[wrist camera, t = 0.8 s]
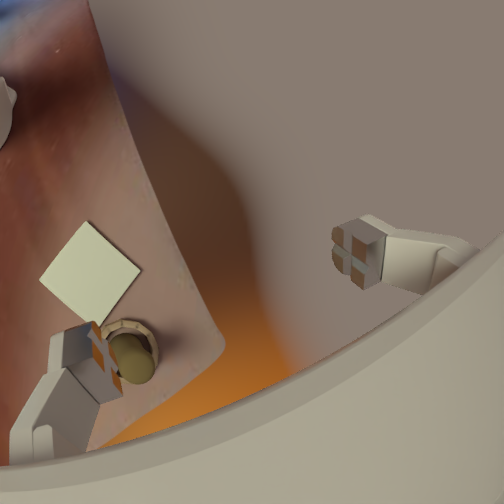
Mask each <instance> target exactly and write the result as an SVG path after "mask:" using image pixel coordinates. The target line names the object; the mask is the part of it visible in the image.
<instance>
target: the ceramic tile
mask: <svg viewBox="0 0 504 504" xmlns="http://www.w3.org/2000/svg"><path fill="white" fill-rule="evenodd" d="M139 272H140V270H139V269H138V268H137V267H136V266H135V265H133V264H132V263H131V262H130V261H129V260H128V259H127V258H126V257H124V256H123V255H122V254H121V253H120V252H119V251H118V250H117V249H116V248H114V247H113V246H112V245H111V244H110V243H109V242H108V241H107V240H106V239H105V238H104V237H102V236H101V235H100V234H99V233H98V232H97V231H96V230H95V229H94V228H93V227H92V226H91V225H90V224H89V223H88V222H87V221H85V222H84V224H83V225H82V226H81V227H80V228H79V230H78V231H77V232H76V233H75V234H74V236H73V237H72V238H71V239H70V240H69V242H68V243H67V244H66V245H65V247H64V248H63V249H62V250H61V252H60V253H59V254H58V255H57V257H56V258H55V259H54V261H53V262H52V263H51V265H50V266H49V267H48V269H47V270H46V271H45V273H44V274H43V275H42V277H41V278H40V279H39V281H40V282H42V283H43V284H44V285H45V286H46V287H47V288H48V289H49V290H50V291H51V292H52V293H53V294H55V295H56V296H57V297H58V298H59V299H60V300H61V301H62V302H64V303H65V304H66V305H67V306H68V307H69V308H71V309H72V310H73V311H74V312H75V313H76V314H78V315H79V316H80V317H81V318H82V319H84V320H85V321H86V322H90V321H95V322H96V323H97V325H98V326H100V325H101V323H102V322H103V321H104V319H105V318H106V316H107V315H108V314H109V312H110V311H111V309H112V308H113V307H114V305H115V304H116V303H117V301H118V300H119V299H120V297H121V296H122V295H123V293H124V292H125V291H126V289H127V288H128V287H129V285H130V284H131V283H132V281H133V280H134V279H135V277H136V276H137V275H138V273H139Z"/></svg>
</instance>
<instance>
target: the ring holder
mask: <svg viewBox="0 0 504 504" xmlns="http://www.w3.org/2000/svg"><path fill="white" fill-rule="evenodd" d="M121 327H129V328H136V329H138V330H139V331H140V332H142V333H143V334H144V335H145V336H146V338H147V340H148V342H149V345H150V347H151V349H150V354H151V355H152V357H153V359H154V361H155V367H156V365H157V363H158V351H159V347H158V345H157V343H156V341H155V338H154V336H153V334H152V332H151V331H149V330H148V329H146V328H145V327H144V326H143V325H141V324H140V323H139V322H137V321H131V320H124V319H119V320H117V321H115V322H112V323H110V324H108V325H105V326H104V328H103V329H102V331H101V336H102V338H104V339H106V337H107V336H108V334H109V333H110V332H111V331H114V330H116V329H118V328H121ZM118 377H119V378H120V380H121V383H123V384H132V383H129V382H128V381H126V380H125V379H124V378H123V377H122V376H121V375H118Z"/></svg>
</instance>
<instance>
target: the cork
mask: <svg viewBox="0 0 504 504" xmlns="http://www.w3.org/2000/svg"><path fill="white" fill-rule="evenodd" d="M110 345H111V347H112V349H113V351H114V353H115V356H116V359H117V362H118V369H119V372H120V374H121V376H122V377H123V378H124V379H125V380H126V381H128V382H129V383H132V384H144V383H146V382H148V381H149V380H150V379H151V378H152V377H153V375H154V372H155V361H154V359H153V357H152V355H151V354H150V353H149V352H148V351H146V350H145V349H143V346H142V344H141V342H140V341H139V339H138V338H137V337H135V336H134V335H131V334H128V333H122V334H119V335H117V336H115V337H114V338H113V339H112V340H111V342H110Z"/></svg>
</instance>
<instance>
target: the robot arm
mask: <svg viewBox="0 0 504 504" xmlns="http://www.w3.org/2000/svg"><path fill="white" fill-rule="evenodd" d="M16 99H17V94H16V92H15V91H14V90H13V89H11V88H10V87H8V86H7V85H6V82H5V79H4V78H3V77H0V148H1V147H2V145H3V144H4V142H5V141H6V139H7V137H8V134H9V132H10V129H11V124H12V109H13V106H14V104H15V102H16ZM332 240H333V241H334V243H335V245H334V247H333V249H332V259H333V262H334V265H335V266H336V268H337V269H338V270H339V271H340V272H341V273H342V274H345V275H350V276H351V281H352V282H353V283H355V284H356V285H357V286H359V287H360V288H361V289H362V290H365V289H367V288H369V287H371V286H373V285H375V284H377V283H379V282H380V281H382V282H383V283H386V284H389V285H392V286H395V287H398V288H402V289H405V290H408V291H411V292H414V293H417V294H420V295H423V296H421V297H420V298H418V299H417V300H416V301H414V302H413V303H411V304H410V305H409V306H407V307H406V308H404V309H403V310H401V311H400V312H398V313H397V314H395V315H394V316H392V317H391V318H389V319H388V320H386V321H385V322H383V323H381V324H380V325H378V326H377V327H375V328H374V329H372V330H370V331H369V332H367V333H366V334H364V335H362V336H361V337H359V338H357V339H356V340H354V341H352V342H351V343H349V344H347V345H346V346H344V347H342V348H341V349H339V350H337V351H335V352H334V353H332V354H330V355H328V356H326V357H325V358H323V359H321V360H319V361H317V362H316V363H314V364H312V365H310V366H308V367H306V368H304V369H302V370H301V371H299V372H297V373H295V374H293V375H291V376H289V377H287V378H285V379H283V380H281V381H279V382H277V383H275V384H273V385H271V386H269V387H266V388H264V389H262V390H260V391H258V392H256V393H254V394H251V395H249V396H247V397H245V398H242V399H240V400H238V401H236V402H233V403H231V404H229V405H226V406H224V407H222V408H219V409H217V410H214V411H212V412H209V413H207V414H204V415H202V416H199V417H197V418H194V419H191V420H189V421H186V422H184V423H181V424H178V425H175V426H172V427H169V428H167V429H164V430H161V431H158V432H155V433H152V434H149V435H146V436H143V437H140V438H136V439H133V440H130V441H126V442H123V443H119V444H115V445H112V446H108V447H105V448H100V449H97V450H93V451H88V452H86V448H87V445H88V442H89V438H90V435H91V432H92V429H93V426H94V423H95V420H96V417H97V414H98V411H99V408H100V404H103V403H106V402H109V401H111V400H114V399H117V398H120V397H122V396H123V391H122V386H121V380H120V378H119V377H118V375H117V374H116V372H117V370H118V362H117V359H116V356H115V353H114V351H113V349H112V347H111V345H110V343H109V342H108V340H106V339H104V338H102V336H101V329H100V328H99V326H98V325H97V323H96V322H95V321H90V322H87V323H84V324H81V325H78V326H76V327H73V328H70V329H67V330H64V331H61V332H59V333H56V334H53V335H52V336H51V339H50V348H49V359H48V373H47V374H44V375H43V377H42V378H41V380H40V381H39V383H38V385H37V386H36V388H35V389H34V391H33V393H32V394H31V396H30V398H29V399H28V401H27V403H26V404H25V406H24V408H23V410H22V411H21V413H20V415H19V417H18V418H17V420H16V422H15V424H14V425H13V427H12V429H11V431H10V466H3V467H0V504H504V230H503V231H502V232H501V233H500V234H499V235H498V236H496V237H495V238H494V239H493V240H492V241H491V242H490V243H489V244H487V245H486V246H485V247H484V248H483V249H482V250H479V249H478V248H476V247H474V246H473V245H471V244H469V243H467V242H466V241H464V240H462V239H460V238H459V237H453V236H447V235H440V234H434V233H427V232H420V231H413V230H406V229H400V230H398V229H396V228H394V227H392V226H391V225H389V224H387V223H385V222H383V221H381V220H379V219H378V218H376V217H374V216H372V215H370V214H365V215H363V216H361V217H358V218H356V219H354V220H352V221H349V222H347V223H345V224H342V225H340V226H337V227H335V228H333V230H332Z"/></svg>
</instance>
